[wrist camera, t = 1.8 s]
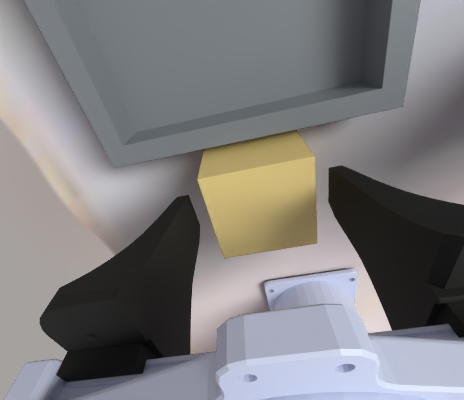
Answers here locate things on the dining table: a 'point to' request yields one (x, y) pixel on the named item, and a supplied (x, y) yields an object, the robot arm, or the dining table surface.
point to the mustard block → (260, 193)
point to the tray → (225, 67)
